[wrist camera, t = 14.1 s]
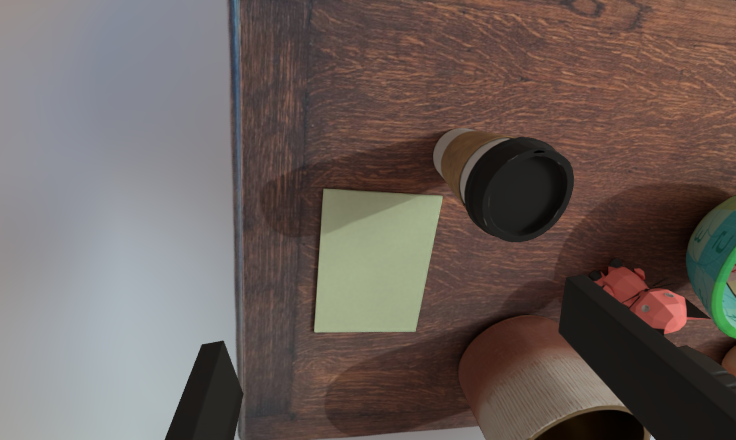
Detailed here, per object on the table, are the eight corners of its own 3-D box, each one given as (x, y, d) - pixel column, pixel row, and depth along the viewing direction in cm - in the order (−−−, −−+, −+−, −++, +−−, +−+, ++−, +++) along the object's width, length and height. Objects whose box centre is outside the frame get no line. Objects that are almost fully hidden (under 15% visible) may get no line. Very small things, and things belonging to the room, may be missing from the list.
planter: (579, 307, 53) (677, 398, 39) (548, 394, 60) (622, 498, 46) (465, 312, 50) (525, 411, 36) (447, 403, 57) (491, 516, 43)
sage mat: (323, 188, 40) (323, 189, 40) (441, 195, 42) (442, 196, 42) (314, 330, 48) (314, 332, 47) (414, 329, 50) (415, 331, 50)
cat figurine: (623, 244, 49) (711, 296, 38) (634, 278, 52) (719, 335, 41) (577, 271, 50) (651, 329, 39) (591, 303, 53) (663, 365, 42)
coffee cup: (497, 114, 39) (594, 141, 26) (488, 187, 43) (569, 244, 29) (423, 117, 38) (484, 145, 25) (420, 191, 42) (472, 252, 28)
